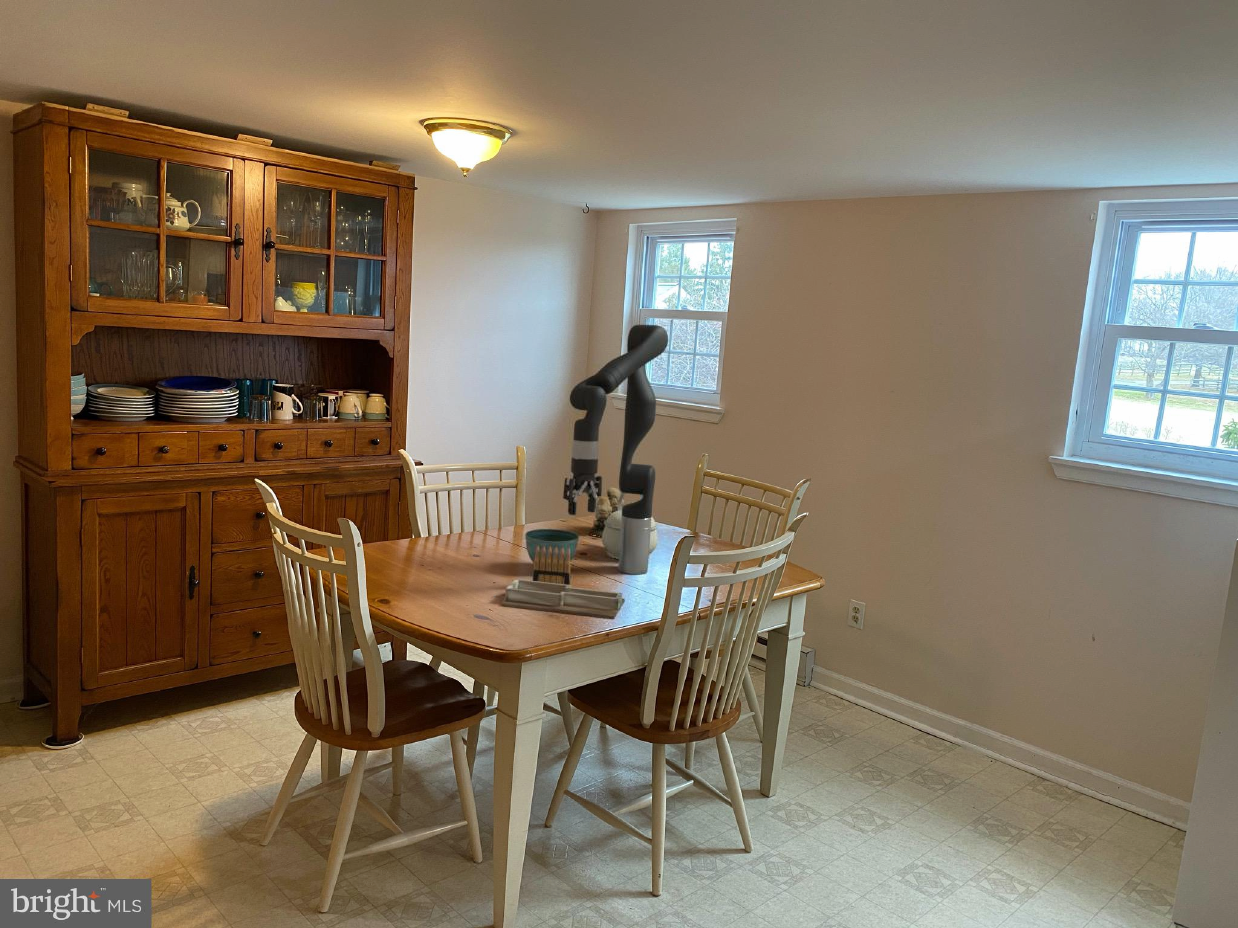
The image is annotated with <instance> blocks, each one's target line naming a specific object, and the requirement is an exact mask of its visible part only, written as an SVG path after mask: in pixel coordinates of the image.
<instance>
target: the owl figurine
mask: <svg viewBox="0 0 1238 928" xmlns="http://www.w3.org/2000/svg"><path fill="white" fill-rule="evenodd" d="M620 494H621V491H620V489H618V488H616V487H609V488H607V491H606V495H607V497H606V496H603V495H601V497H598V501H597V502H596V508H595V514H594V516H595V519H596V520H593V525H592V528H590V529H589V533H590V534H592V535H596V536H600V537H602V534H603V531H604V528H605V526H606V525H605V524H604V521H605V520H607V519H608V517H609V516H610V515H611V514H612V513H614V512H616V511H618V500H619V497H620ZM624 505H625V500H624V499H623V500H622V508H623V506H624ZM589 533H588V534H589ZM590 534H589V535H590Z"/></svg>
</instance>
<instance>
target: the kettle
mask: <svg viewBox="0 0 1238 928" xmlns="http://www.w3.org/2000/svg"><path fill="white" fill-rule="evenodd" d="M620 493H621V494H620V497H619V500H618V511H616V512H614V513H612V514H611V515H610V516H609V517H608V519H607V520H605V521H604V524H605V525H606V526H605V528H604V531H603V534H602V538H601V543H602V545H603V548H604V549H605V550H606V551H607V552H606V553H607V556H608V555H609V556H608V557H609V558H611V557H612V559H614V558H616V559H615V560H617V559H619V547H620V532H621V516H622V500H624V497H625V494H626V493H622V492H621V491H620ZM642 497H643V495H639V500H640V499H642ZM658 527H659V526H658V524H657V523H656V522H655V519H654V518H653V516H652V517H651V531H650V546H649V557H650V558H651V554H652V553H653V552H654V551H655V550H656V549H657V546H658V543H659V536H658V532H657V529H658Z"/></svg>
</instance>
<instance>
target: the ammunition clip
mask: <svg viewBox="0 0 1238 928" xmlns="http://www.w3.org/2000/svg"><path fill="white" fill-rule="evenodd" d="M539 554H540V552H539V546H537V548H536V552H535V559H534V563H533V570H532V580H531V581H538V582H547V583H556V584H565V585H571V565H572V564H571V562H570V549H569V548H568V550H567V554H566V561H565V571H564V550H563V548H562V549H561V552H560V559H559V566H558V550H557V547H556V548H555V550H554V557H553V562H552V551H551V547H549V549H548V555H547V561H546V551H545V546H543V548H542V553H541V560H540V555H539Z"/></svg>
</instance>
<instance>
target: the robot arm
mask: <svg viewBox="0 0 1238 928" xmlns="http://www.w3.org/2000/svg"><path fill="white" fill-rule="evenodd" d="M668 335H669V334H668V333H667V330H666V329H665V328H664V326H661V325H657V324H634V325H633V326H632V327H631V328H630V329H629V332H628V335H627V344H626V345H627V347H626V348H627V352H626V353H623V354H621V355H618V356H617V357H614V358H613V359H612V360H610V361H608V362H606V364H604V366H602V368H600V370H598V371H597V372H596V373H595V374H594V375H592V376H589V377H587V378H586V379H584V380H582V381H581V382H579V383H577V384H576V385H574V387H573V389H572V390H571V391H570V395H569V402H570V406H571V407H572V408H574V409H576V410H579V411H586V413H585V416H584V418H580V419H576V421H575V422H574V425H573V426H574V427H573V442H572V446H571V462H570V472H571V473H572V475H573V476H572V478H570V477H565V478H564V483H563V484H564V485H563V493H562V499H564V500H566V501H567V502H568V505H567V507H568V508H567V513H568V515H569V516H576V515H577V500H578V498H579V497H580V496H582V494H584V493H586V495H587V498H588V499H587V512H589V513H596V506H597V500H598V499H599V497H602V496H603V495H602V490H603V489H602V487H603V477H602V476H600V475H597V474H598V467H599V452H600V451H599V449H600V448H599V436H600V435H599V434H600V433H599V431H600V426H601V423H602V420H603V416H604V414H605V410H606V407H607V400H608V399H607V395H610V394H612V393H613V392H614V391H616V389H617V388H618V387H620V385H622V383H624V382H625V381H626V380H627V382H626V383H627V384H626V395H625V396H626V397H625V408H624V410H625V411H624V423H623V424H624V427H623V429H624V431H623V441H622V442H623V444H622V452H621V458H620V459H621V460H620V466H619V467H620V468H619V476H618V488H619V489H618V490H619V491H620V493H621V492H622V493H625V494H630V495H639V496H640V495H643V497H642V499H640V498H639V500H637V501H634V502H630V503H627V504H624V506H623V508H622V516H621V532H620V547H619V560H618V562H617V563H618V565H617V570H618V571H619V572H621V573H624V574H630V575H641V574H647V573H648V571H649V559H650V558H649V546H650V531H651V517H652V518H653V516H652V514H653V513H652V512H653V500H654V499H653V498H654V491H655V482H656V469H655V467H654V466H653V465H650V464H649V465H648V464H644V463H643V464H641V463H632V461H633V458H634V454H635V452H636V450H637V448H638V447H639V445H640V443H642V441H643V440H644V438H645V437H646V436H647V435H648V433H649V432H650V430H651V429H652V427H653V426H654V424H655V421H656V409H657V407H656V406H657V398H656V396H655V392H654V390H653V388H652V385H651V383H650V381H649V378H648V376H647V371H646V365H647V364H648V363H649V362H651V361H653V360H655V359H656V358H658V357H659V356H660V355H662V354H663V353H664V352H665V351H666V350H667V347H668V344H669V336H668Z"/></svg>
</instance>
